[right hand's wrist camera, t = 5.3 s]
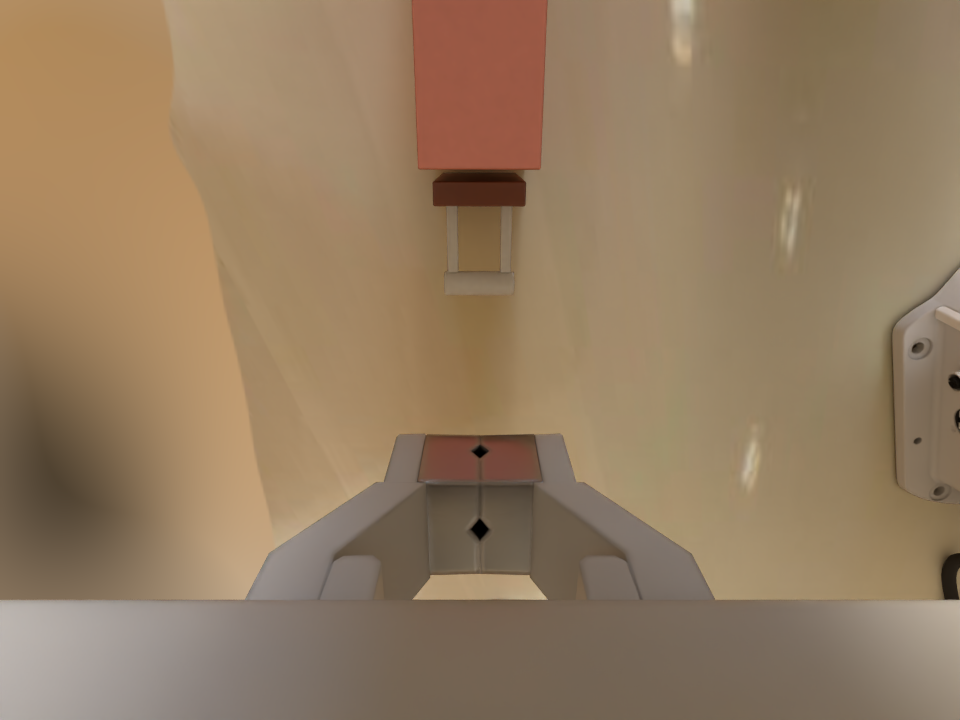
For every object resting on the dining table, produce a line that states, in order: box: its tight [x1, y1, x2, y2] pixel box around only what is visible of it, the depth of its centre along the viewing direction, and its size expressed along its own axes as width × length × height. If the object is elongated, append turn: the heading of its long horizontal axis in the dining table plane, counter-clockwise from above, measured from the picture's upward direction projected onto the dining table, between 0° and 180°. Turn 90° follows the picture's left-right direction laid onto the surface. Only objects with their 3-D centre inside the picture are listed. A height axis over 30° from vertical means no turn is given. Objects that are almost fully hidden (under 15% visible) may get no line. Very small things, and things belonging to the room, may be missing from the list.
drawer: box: [433, 173, 526, 295], centre depth 29 cm, size 23×5×8 cm, turn 0°
